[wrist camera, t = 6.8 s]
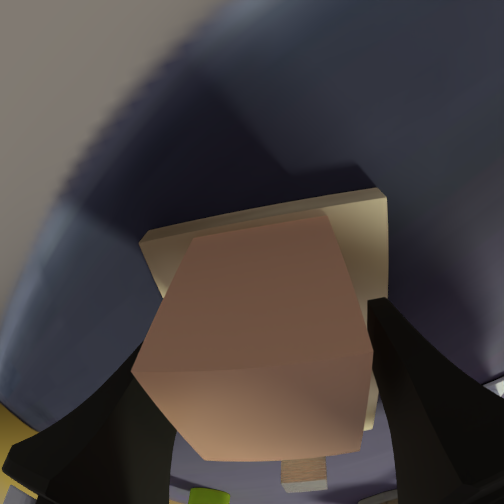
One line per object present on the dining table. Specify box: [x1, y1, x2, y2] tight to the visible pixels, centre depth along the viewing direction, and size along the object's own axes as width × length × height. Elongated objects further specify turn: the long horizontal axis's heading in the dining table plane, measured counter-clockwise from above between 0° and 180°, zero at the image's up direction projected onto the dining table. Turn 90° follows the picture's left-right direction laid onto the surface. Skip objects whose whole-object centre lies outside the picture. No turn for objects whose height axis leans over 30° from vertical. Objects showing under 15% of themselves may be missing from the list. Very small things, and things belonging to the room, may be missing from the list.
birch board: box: [139, 188, 388, 431], centre depth 16 cm, size 18×10×1 cm, turn 13°
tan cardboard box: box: [131, 215, 373, 461], centre depth 10 cm, size 5×5×7 cm
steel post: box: [281, 456, 327, 493], centre depth 16 cm, size 3×3×5 cm
